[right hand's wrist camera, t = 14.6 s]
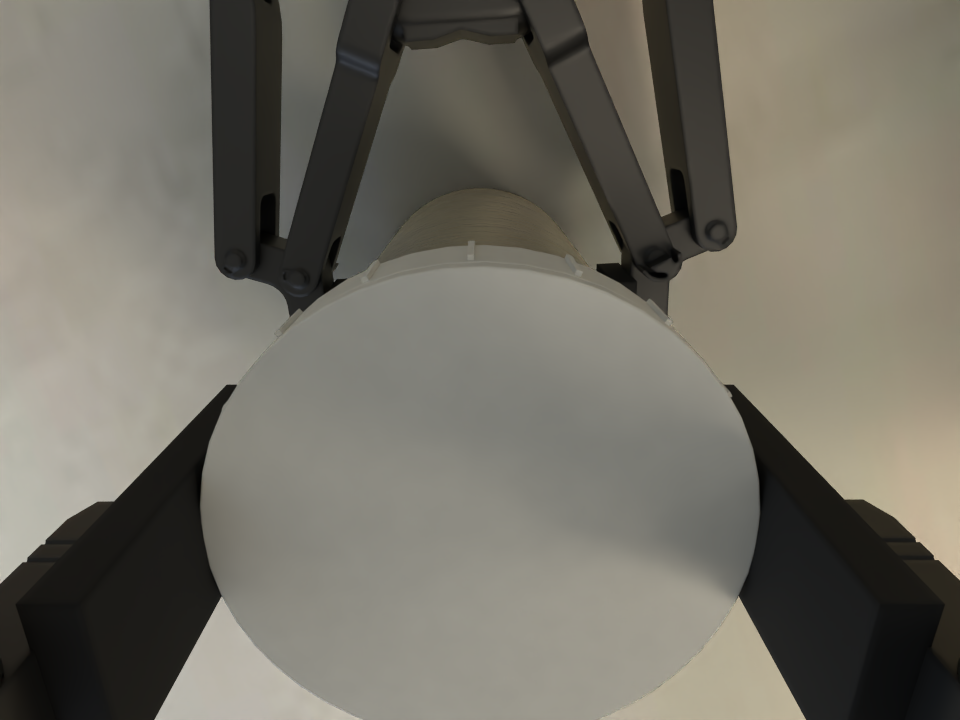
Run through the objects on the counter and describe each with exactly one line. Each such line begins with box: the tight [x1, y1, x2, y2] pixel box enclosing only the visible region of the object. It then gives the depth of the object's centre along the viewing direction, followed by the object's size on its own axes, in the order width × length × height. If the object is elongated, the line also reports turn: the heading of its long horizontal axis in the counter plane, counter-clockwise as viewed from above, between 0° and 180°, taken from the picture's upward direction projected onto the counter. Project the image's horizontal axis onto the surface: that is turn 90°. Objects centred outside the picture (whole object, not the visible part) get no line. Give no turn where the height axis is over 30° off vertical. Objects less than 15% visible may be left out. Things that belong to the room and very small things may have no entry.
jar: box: [377, 188, 589, 267], centre depth 19 cm, size 8×8×17 cm
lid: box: [200, 241, 760, 720], centre depth 11 cm, size 9×9×2 cm
